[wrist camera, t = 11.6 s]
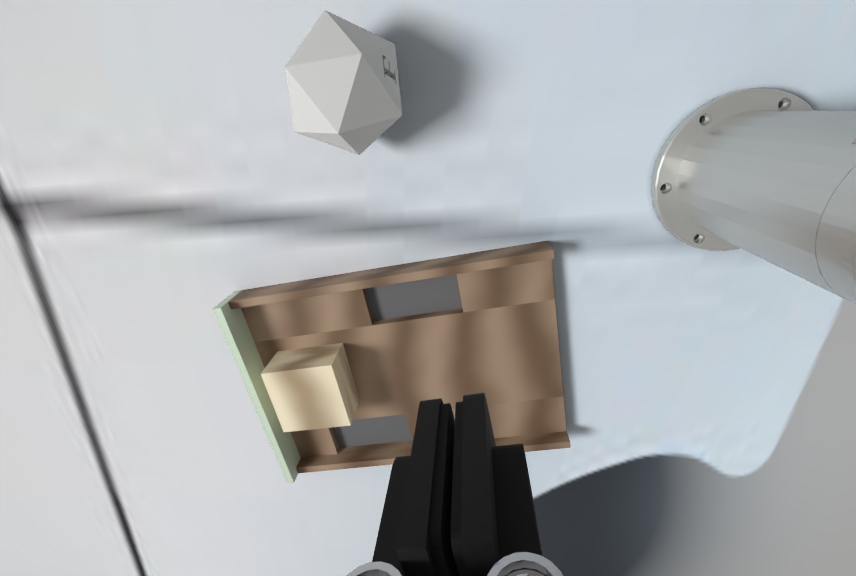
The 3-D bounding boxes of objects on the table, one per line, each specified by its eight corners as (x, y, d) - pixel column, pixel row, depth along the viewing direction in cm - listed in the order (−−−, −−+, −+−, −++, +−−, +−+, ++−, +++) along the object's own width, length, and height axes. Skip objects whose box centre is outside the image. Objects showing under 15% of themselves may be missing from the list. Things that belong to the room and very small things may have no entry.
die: (384, 165, 37) (430, 123, 28) (281, 163, 33) (297, 114, 24) (374, 71, 36) (418, -1, 28) (269, 58, 33) (282, -28, 24)
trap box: (547, 240, 38) (553, 250, 35) (564, 429, 46) (570, 447, 43) (241, 290, 42) (227, 301, 39) (306, 455, 50) (298, 473, 47)
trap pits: (455, 264, 39) (455, 264, 39) (485, 431, 46) (485, 432, 46) (286, 291, 41) (285, 291, 41) (340, 446, 49) (339, 447, 49)
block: (342, 342, 42) (331, 365, 38) (359, 399, 44) (350, 425, 41) (277, 351, 43) (260, 373, 39) (298, 406, 45) (283, 432, 42)
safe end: (241, 290, 42) (220, 307, 38) (306, 455, 50) (293, 482, 46) (234, 291, 42) (212, 309, 38) (299, 455, 50) (287, 483, 46)
